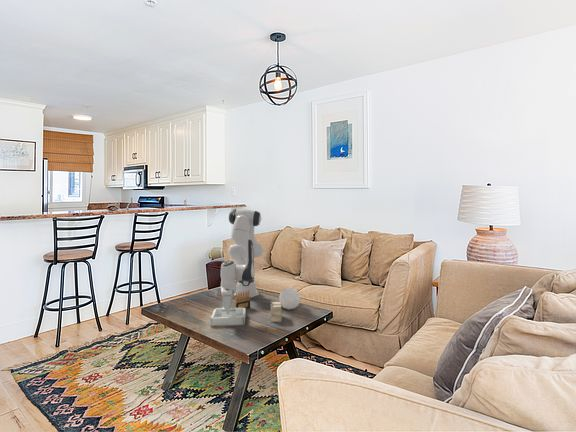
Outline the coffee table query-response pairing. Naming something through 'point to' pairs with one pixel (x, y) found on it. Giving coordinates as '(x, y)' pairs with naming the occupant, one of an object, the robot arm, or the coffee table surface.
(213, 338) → the coffee table surface
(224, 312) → the teal-striped white carton
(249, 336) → the coffee table surface
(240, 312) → the tray
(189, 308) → the coffee table surface
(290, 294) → the geodesic sphere
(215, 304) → the coffee table surface
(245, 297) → the ammunition clip
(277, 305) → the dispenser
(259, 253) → the robot arm
